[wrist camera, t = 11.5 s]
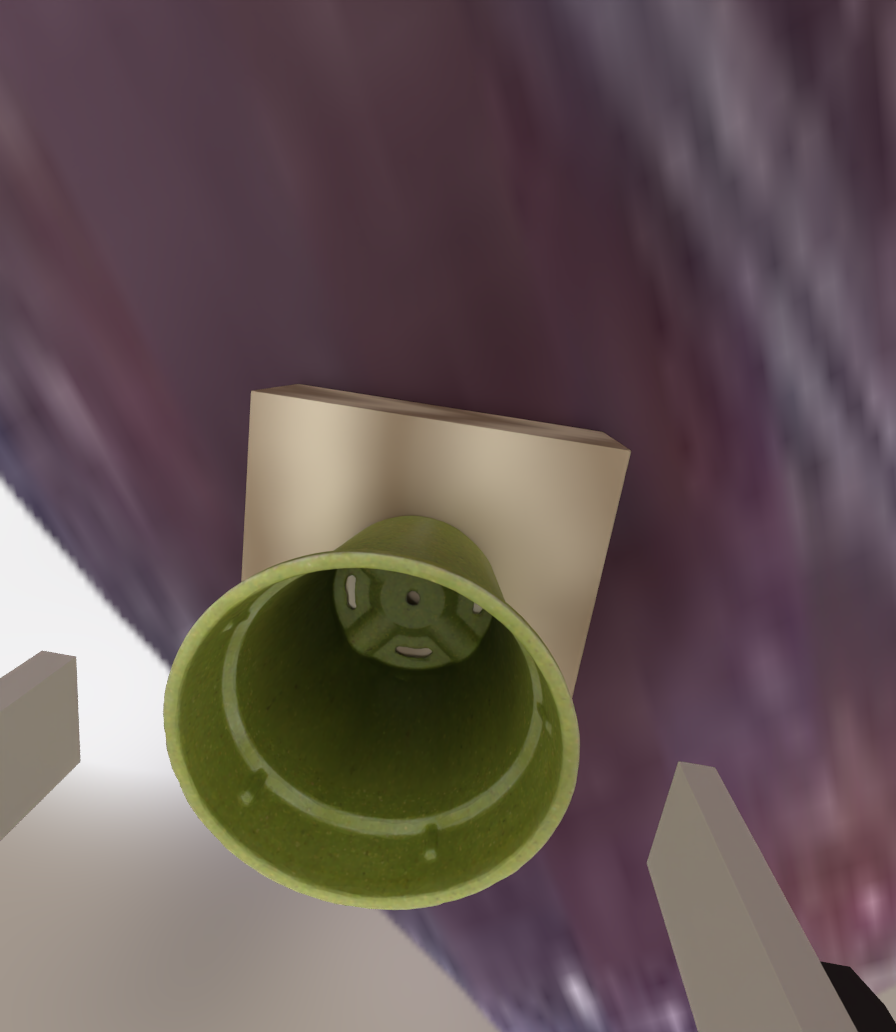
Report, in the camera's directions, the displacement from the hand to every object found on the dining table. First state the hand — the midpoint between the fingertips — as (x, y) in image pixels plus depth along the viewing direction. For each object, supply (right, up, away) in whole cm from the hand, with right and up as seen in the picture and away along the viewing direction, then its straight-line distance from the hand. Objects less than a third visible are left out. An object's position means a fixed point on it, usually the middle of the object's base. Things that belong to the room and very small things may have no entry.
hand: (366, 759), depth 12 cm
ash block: (+1, +4, +14) cm, 14 cm away
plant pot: (+1, +2, +9) cm, 9 cm away
